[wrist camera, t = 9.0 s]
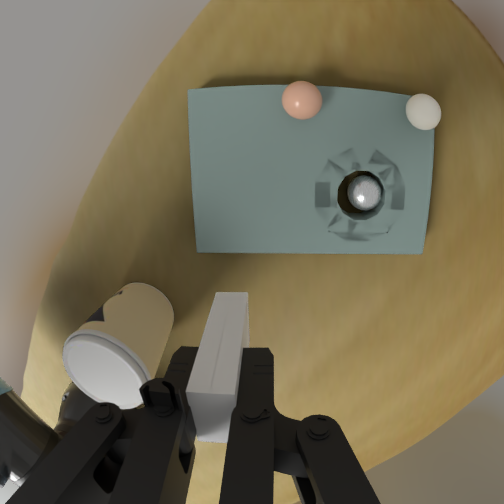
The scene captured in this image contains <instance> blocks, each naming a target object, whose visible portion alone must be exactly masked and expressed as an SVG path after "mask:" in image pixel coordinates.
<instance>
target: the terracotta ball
mask: <svg viewBox="0 0 504 504" xmlns="http://www.w3.org/2000/svg"><path fill="white" fill-rule="evenodd" d="M282 105H283V108H284V110H285V111H286V112H287V113H288V114H289V115H290V116H292V117H293V118H296V119H300V120H305V119H310V118H312V117H314V116H315V115H316V114H317V113H318V112H319V111H320V109H321V107H322V95H321V93H320V91H319V90H318V88H317V87H316V86H315V85H313V84H311V83H309V82H306V81H296V82H293V83H291V84H290V85H288V86H287V87H286V88H285V90H284V92H283V94H282Z"/></svg>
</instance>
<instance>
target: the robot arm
mask: <svg viewBox="0 0 504 504" xmlns="http://www.w3.org/2000/svg"><path fill="white" fill-rule="evenodd" d="M249 341H250V335H249V310H248V292H216V294H215V297H214V301H213V304H212V307H211V310H210V313H209V317H208V320H207V323H206V326H205V329H204V333H203V336H202V339H201V342H200V346H199V347H186V346H181V347H180V348H179V349H178V350H177V351H176V352H175V353H174V354H173V356H172V359H171V361H170V364H169V367H168V369H167V372H166V374H165V377H164V378H155V379H152V380H149V381H147V382H145V383H144V384H143V385H142V386H141V387H140V389H139V391H140V394H141V397H142V400H143V402H144V405H145V407H144V408H141V409H135V408H131V409H120V408H119V406H117V405H116V404H114V403H111V402H101V403H99V402H97V401H95V400H94V399H92V398H91V397H89V396H88V395H86V394H85V393H84V392H83V391H82V390H80V389H79V388H78V387H77V386H76V384H75V383H74V382H72V383H71V384H70V385H69V387H68V388H67V389H66V391H65V392H64V395H63V398H62V403H61V407H60V413H59V418H58V423H57V425H56V427H55V428H54V430H53V429H52V428H51V427H50V426H49V425H47V424H46V423H45V422H44V421H43V420H42V419H41V418H40V417H39V416H38V415H37V414H36V413H34V412H33V411H32V410H31V409H30V408H29V407H28V406H27V405H26V404H25V402H24V401H23V400H22V399H21V398H20V397H19V396H18V395H17V394H16V393H15V392H14V391H13V388H12V387H10V386H9V385H8V384H6V382H5V381H4V380H3V379H1V377H0V488H3V486H4V485H5V483H6V482H7V480H8V479H10V480H11V481H12V482H14V483H15V484H16V485H17V486H19V489H18V490H17V491H16V492H15V493H14V494H13V495H12V497H11V498H10V499H9V500H8V501H7V502H6V503H5V504H185V503H186V498H187V493H188V488H189V483H190V478H191V473H192V468H193V464H194V459H195V454H196V450H195V445H194V441H195V437H196V435H197V439H198V441H205V442H218V443H227V449H226V456H225V464H224V471H223V478H222V486H221V493H220V500H219V504H273V484H274V471H277V472H280V473H284V474H288V475H292V478H293V480H294V483H295V486H296V489H297V492H298V495H299V497H300V500H301V503H302V504H380V502H379V500H378V498H377V496H376V494H375V492H374V490H373V488H372V486H371V485H370V483H369V481H368V479H367V477H366V475H365V473H364V471H363V469H362V467H361V466H360V464H359V462H358V460H357V458H356V456H355V454H354V452H353V450H352V448H351V447H350V445H349V443H348V441H347V439H346V437H345V435H344V433H343V431H342V429H341V428H340V426H339V424H338V423H337V422H336V421H335V420H334V419H332V418H331V417H329V416H325V415H311V416H309V417H306V418H304V419H303V420H302V421H299V420H295V419H291V418H288V417H285V416H284V415H282V414H280V413H279V412H278V411H277V409H276V407H275V405H274V356H273V354H272V353H271V351H270V350H269V348H249Z"/></svg>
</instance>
